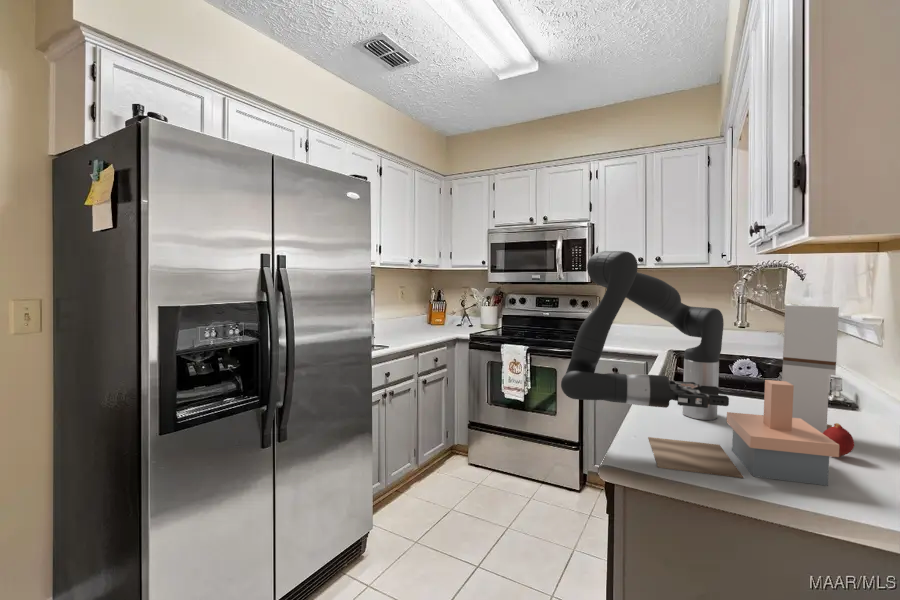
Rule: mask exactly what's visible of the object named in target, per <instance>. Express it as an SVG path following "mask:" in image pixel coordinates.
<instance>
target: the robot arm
mask: <svg viewBox="0 0 900 600" xmlns="http://www.w3.org/2000/svg"><path fill="white" fill-rule="evenodd" d="M638 268H639V267H638V261H637V258H636V256H635V255H634V254H633V253H631V252H630V251H625V250H603V251H599V252H596V253H594V254H592V256H590V257H589V259H588V261H587V265H586V270H587V275H588V276H589V278H590V280H591V281H592V282H594V284H596V285H598V286H601V287H603V288H605V292H604V295H603V297H602V299H601V300H600V301H599V303H598V304H597V306H596V307H595V308H594V309H593V310H592V311H591V312H590V314H589V315H588V316H587V317H586V318H585V319H584V320H583V322H582V324H581V325H580V327H579V329H578V332H577V333H576V338H575V341H574V344H573V347H572V351H571V358H570V361H569V364H568V366H567V368H566V371H565V374H564V375H563V377H562V378H561V382H560V387H561V390H562V392H563V394H564V395H565V396H566V397H568V398H569V399H572V400H582V401H583V400H584V401H603V402H604V401H605V402H611V403H618V404H619V403H621V404H628V405H634V406H640V407H641V406H644V407H652V408H653V407H655V408H665V409H666V408H668V407H669V406H670V401H675V402H677V406H682V415H684V416H686V417H688V418H692V419H697V420H701V421H712V420H716V419H717V418H718V406H720V407H721V406H722V407H728V406H729V405H730V403H729V402H730V398H729V396H728V395H725V394H724V395H723V394H720V393H719V392H720V391H719V390H720V389H719V378H720V377H719V375H720V374H719V373H720V368H719V367H720V356H721V353H722V348H723V347H722V345H723V335H724V326H725V325H724V324H725V323H724V315H723V313H722V311H721V310H720V309H718V308H714V307H702V306H701V307H699V306H689V305H687V304H684V303H683V302H682V299H681V295H680V293H679V291H678V290H677V289H676V288H675V287H673V286H672V285H671V284H669V283H667V282H666V281H664V280H662V279H660V278H658V277H654V276H652V275H648V274H645V273H643V272H642V273H641V272H638ZM626 299H628V300H629V301H631V302H633V303H634V304H635V305H637V306H639V307H640V308H643V310H646V311H647V312H650V314H653V315H655V316H657V317H658V318H660V319H662V320H664V321H666V322H668V323H670V324H671V325H672V326H673V327H675V328H676V329H677V330H678V331H679V332H680V333H682V334H684V335H686V336H689V337H694V338H700V339H701V340H700V343H699V344H698V345H696V346H695V347H694V346H693V347H689V348H686V349H685V350H684V355H683V356H684V357H683V381H681V380H680V381H679V380H677V381H676V380H670V379H669V377H668V376H667V375H659V374H658V375H657V374H645V373H644V374H643V373H631V374H628V373H627V374H626V373H613V372H611V373H609V372H608V373H601V372H596V368H597V364H598V363H599V361H600V359H601V356H602V354H603V351H604V346H605V344H606V340H607V338H608V336H609V332H610V330H611V328H612V325H613V323H614V321H615V319H616V317H617V315H618V313H619V311H620V309H622V306H623V304H624V301H625V300H626Z"/></svg>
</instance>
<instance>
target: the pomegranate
mask: <svg viewBox="0 0 900 600" xmlns="http://www.w3.org/2000/svg"><path fill="white" fill-rule="evenodd" d="M823 434H824V435H826V436H827V437H828V438H830V439H831V440H833V441H834V442H836V443H837V444H839V457H838V458H840V457H842V456H846V455H848V454H850V453H851V452H852V451H853V450H854V448H855V440H854V437H853V436H852V434H851V433H850V432H849V431H848V430H847V429H845V428H844V426H842V425H841V424H840V423H837V422H836V423H833V426H832V427H830V428H828V429H827V430H825V431H824V432H823Z"/></svg>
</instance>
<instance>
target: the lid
mask: <svg viewBox="0 0 900 600" xmlns="http://www.w3.org/2000/svg"><path fill="white" fill-rule="evenodd" d="M793 390H794V385H792V384H790V383H788V382H786V381H782V380H773V379H765V380H764V399H763V400H764V401H763V414H753V413H741V412H732V411H731V412H728V411H727V412H726V423H727V424H728V425H729V426H730V427H731V429H732V431H733V430H734V431H735V432H736V433H737V434H738V435H739V436H740V437H741V438H742V439H743V440H744V442H745V443H746V444H747V445H748V446H749V447H750V448H757V449H767V450H776V451H785V452H794V453H804V454H813V455H822V456H829V457H831V458H840V457H839V444H837V443H836V442H834V441H833V440H831V439H830V438H828V437H827V436H826V435H824V434H823V433H821V432H820V431H818V430H817V429H815V428H814V427H812V426H811V425H809V424H808V423H806V422H805V421H804V420H802V419H801V418H792V412H793Z"/></svg>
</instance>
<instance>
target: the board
mask: <svg viewBox="0 0 900 600" xmlns="http://www.w3.org/2000/svg"><path fill="white" fill-rule="evenodd" d="M647 439H648V442H649V446H650V449H651V451H652V453H654V454H653V457H654V459H655V462H656V466H657V468H659V469H660V468H662V469H666V470H667V469H668V470H676V471H682V472H691V473H692V472H693V473H697V474H698V473H700V474H707V475H708V474H709V475H715V476H721V477H731V478H739V479H744V475H743V473H741V471H740V470H739V468H738V467H737V466H736V464H735V463H734V462H733V460H732V459H731V458H730V457H729V455H728V454H727V452H726V451H725V450H724V448H722V446H721V444H717V443H709V442H708V443H707V442H698V441H690V440H689V441H688V440H678V439H669V438H659V437H652V436H648V437H647Z"/></svg>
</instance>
